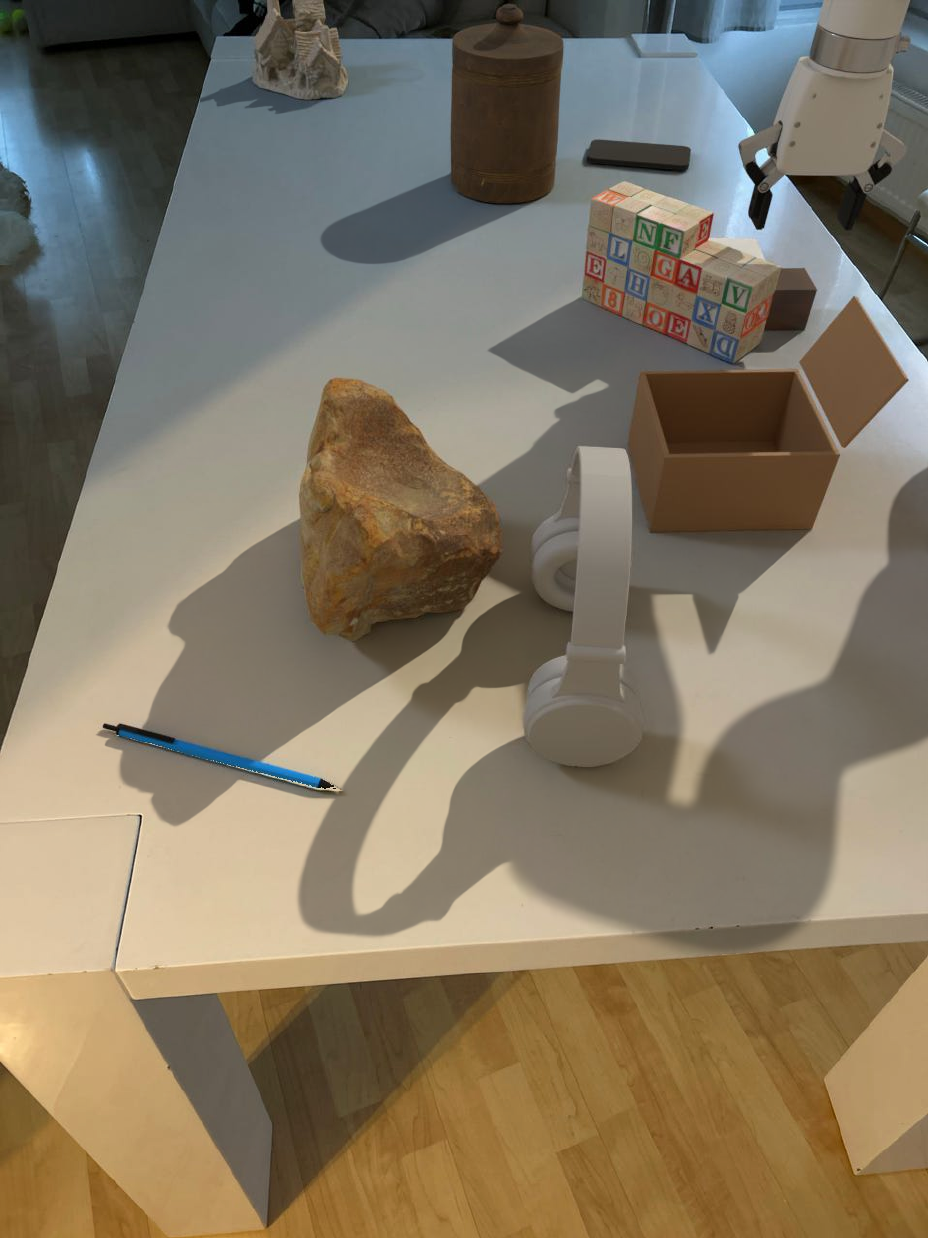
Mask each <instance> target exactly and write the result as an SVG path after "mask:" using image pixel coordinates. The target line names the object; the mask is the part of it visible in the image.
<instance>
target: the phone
mask: <svg viewBox="0 0 928 1238" xmlns="http://www.w3.org/2000/svg"><path fill="white" fill-rule="evenodd" d="M691 151H692V149H691V148H690V146H686V145H677V144H663V143H650V142H637V141H626V140H625V141H623V140H611V139H599V138H598V139H593V140H591V142H590V144H589V148H588V151H587V154H586V155H587V157H586V161H587V162H588V163H591V164H600V165H610V166H612V165H613V166H624V167H634V168H635V167H637V168H648V169H659V170H660V169H661V170H674V171H685V170H688V169H689V168H690V161H691Z"/></svg>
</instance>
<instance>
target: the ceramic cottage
mask: <svg viewBox="0 0 928 1238" xmlns="http://www.w3.org/2000/svg"><path fill="white" fill-rule="evenodd" d="M291 3H292V13H293V16H294V18H287V19H285V18H284V17H283V16H282V15H281V9H280V2H279V0H266V7H267V12H266V15H265V17H264V20H263V23H262V25H261V26H260V27H259V30H258V32H257V33H256V34H255V37H254V38H252V40H251V42H253V46H254V50H253V53H254V59H255V62H254V63H253V67H252V83H253V84H254V85H256V87H258V88H259V89H263V90H268V91H271V92H273V93H278V94H282V95H287V96H289V97H292V98H294V99H300V100H305V101H308V100H309V101H311V100H318V99H319V100H320V99H321V98H322V99H323V98H324V99H325V98H326V99H329V98H331V99H334V98H336V99H337V98H338V97H341V96H343V95H344V94H345V92H346V89H347V87H348V85H349V78H348V72H347V69H346V68H345V66H344V65H343V64H342V63H341V61H342V60H343V55H342V48H341V44H340V40H339V39H340V37H339V32H338V29H337V27H333V28H332V27H331V28H329V25H326V24H325V22H326V9H325V5H324V0H292V1H291Z"/></svg>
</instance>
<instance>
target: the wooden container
mask: <svg viewBox="0 0 928 1238" xmlns="http://www.w3.org/2000/svg"><path fill="white" fill-rule="evenodd" d="M523 13H524V12H523V11H522V10H521V8H519V7H517V4H515V3H506V4H503V5H502V6H500V7H499V8H498V9H497V10H496V14H495V18H496V21H497V23H496V22H495V23H484V24H479V25H474V26H470V27H466V28H464V29H462V30H459V31H458V32H456V33H455V34H454V36H453V37H452V42H451V43H452V44H451V60H452V61H451V62H452V65H451V100H450V101H451V102H450V182H451V185H452V187H453V188H454V190H456V191H457V192H458V193H460V194H461V195H463V196H465V197H467V198H470V199H473V200H476V201H479V202H484V203H491V204H503V205H504V204H508V205H509V204H520V203H526V202H531V201H533V200H537V199H539V198H542V197H544V196H546V195H548V193H550V192H552V190H553V188H554V186H555V180H556V179H555V177H556V167H557V166H556V163H557V162H556V161H557V153H558V142H559V125H560V123H559V122H560V120H559V119H560V100H561V99H560V98H561V84H562V83H561V82H562V69H563V63H564V62H563V60H564V48H565V47H564V46H565V45H564V39H563V38H562V37H561V36H560V35H559V34H558V33H556V32H554V31H552V30H550V29H547V28H544V27H540V26H536V25H531V24H523V23H521V22H522V21H523V19H524V14H523Z"/></svg>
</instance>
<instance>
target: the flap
mask: <svg viewBox="0 0 928 1238" xmlns="http://www.w3.org/2000/svg"><path fill="white" fill-rule="evenodd" d="M798 362H799V365H800V367H801V368H802V371H803V372H804V375H805V376H806V378H807V381H808V383H809V384H810V387H811V389H812V390H813V392H814V395H815V397H816V399H817V401H818V403H819V404H820V406H821V409H822V411H823V412H824V415H825V416H826V418H827V421H828V422H829V425H830V426H831V429H832V430H833V433H834V434H835V437H836V439H837V441H838V443H839V444H840V447H841V448H843V449H846V448H847V447H848V446H849V444H851V443H852V442H853V441H854V439H855V438H857V436H858V435H859V434H860V433H862V431H863V430H864V429H865V428H866V427H867V426H868V425H869V424H870V422H872V420H873V419H874V418H875V417H876V416H877V415H878V414H879V413H880V412H881V411H882V410H883V409H884V408H885V406H886V405H887V404H888V403H889V402H890V401H891V400H892V399H893V398H894V397H895V396H896V394H898V392H900V391H901V389H903V387H904V386H905V385H906V384H907V383H908V382H909V381H910V380H909V377H908V376H907V374H906V373H905V371H904V369H903V368H902V366H901V365H900V363H899V361H898V360H897V359H896V357H895V355H894V353H893V352H892V350H891V348H890V347H889V345H888V344H887V342H886V341H885V339H884V338H883V336H882V334H881V333H880V332H879V330H878V328H877V326H876V325H875V324H874V321H873V320H872V318H871V317H870V315H869V313H868V312H867V310H866V309H865V307H864V306H863V304H862V302H861V301H860V299H859V297H857V296H856V295H853V296H852V298H851V299H850V300H849V301H848V302H847V304H846V305H845V306H844V307H843V308H842V310H841V311H840V312H839V313H838V315H837V316H836V317H834V319H833V320H832V322H831V323H830V324H829V325H828V327H827V328H826V329H825V330H824V331H823V332H822V334H821V335H820V336H819V337H818V339H817V340H816V341H815V342H814V344H813V345H812V346H810V348H809V349H808V351H807V352H805V354H804V355H803V357H802V358H801V359H800V360H799V361H798Z"/></svg>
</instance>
